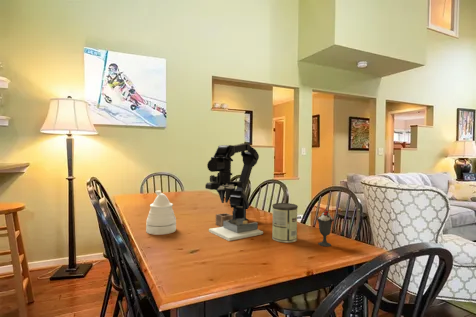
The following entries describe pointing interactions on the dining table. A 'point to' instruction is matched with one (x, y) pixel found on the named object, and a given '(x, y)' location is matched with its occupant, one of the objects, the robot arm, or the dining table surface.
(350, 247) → the dining table surface
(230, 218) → the hollow wooden box
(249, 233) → the base board
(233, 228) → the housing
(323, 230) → the sundae
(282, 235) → the coffee can
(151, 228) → the honey pot
